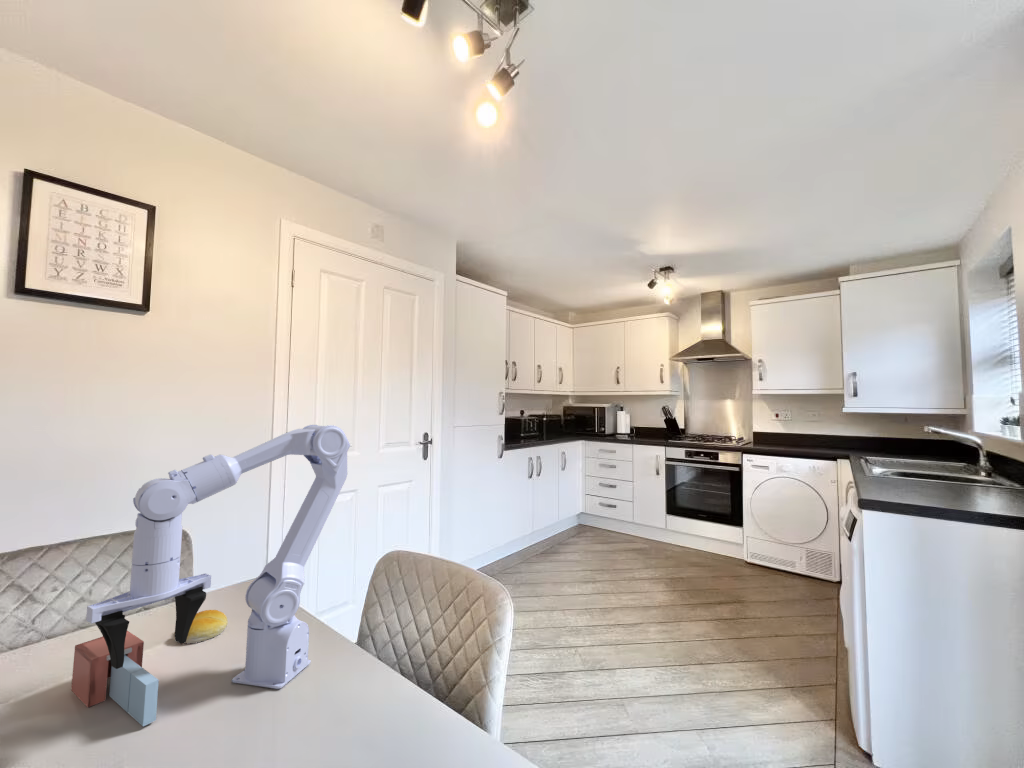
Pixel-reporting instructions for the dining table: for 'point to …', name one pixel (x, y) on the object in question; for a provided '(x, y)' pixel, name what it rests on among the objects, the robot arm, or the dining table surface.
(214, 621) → the bread roll
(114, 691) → the blue-grey rectangular box
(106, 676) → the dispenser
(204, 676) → the dining table surface
